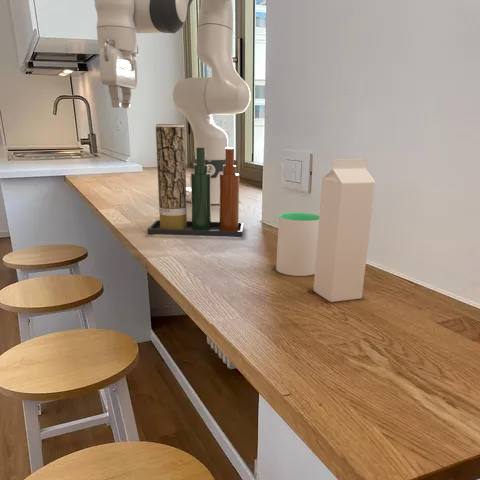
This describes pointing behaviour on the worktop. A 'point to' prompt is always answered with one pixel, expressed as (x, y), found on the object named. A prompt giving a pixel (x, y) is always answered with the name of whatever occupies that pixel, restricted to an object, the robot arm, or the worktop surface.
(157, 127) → the paper tube
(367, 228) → the milk
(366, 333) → the worktop surface
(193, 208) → the green bottle
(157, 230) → the tray
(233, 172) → the amber bottle
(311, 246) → the mug
